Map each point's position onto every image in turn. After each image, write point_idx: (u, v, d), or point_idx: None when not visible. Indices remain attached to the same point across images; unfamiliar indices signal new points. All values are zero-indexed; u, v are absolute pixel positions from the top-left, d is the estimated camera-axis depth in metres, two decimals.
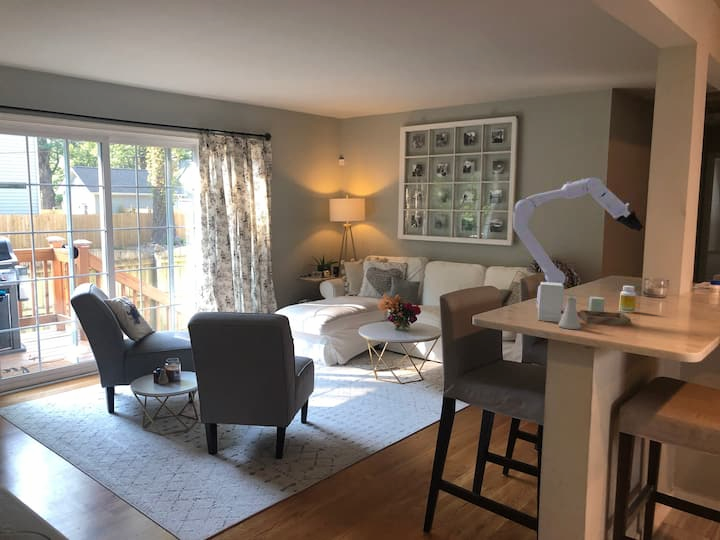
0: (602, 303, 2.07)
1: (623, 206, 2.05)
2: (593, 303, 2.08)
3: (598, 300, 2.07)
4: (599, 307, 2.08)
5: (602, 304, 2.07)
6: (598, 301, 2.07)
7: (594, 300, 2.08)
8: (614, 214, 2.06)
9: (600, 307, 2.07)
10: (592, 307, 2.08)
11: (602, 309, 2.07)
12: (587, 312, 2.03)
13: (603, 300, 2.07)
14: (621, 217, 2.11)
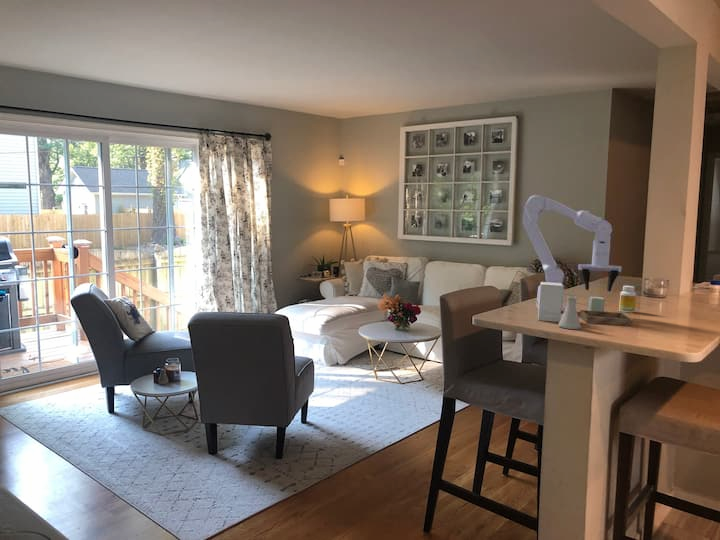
0: (602, 303, 2.07)
1: (594, 264, 2.06)
2: (593, 303, 2.08)
3: (598, 300, 2.07)
4: (599, 307, 2.08)
5: (602, 304, 2.07)
6: (598, 301, 2.07)
7: (594, 300, 2.08)
8: None
9: (600, 307, 2.07)
10: (592, 307, 2.08)
11: (602, 309, 2.07)
12: (587, 312, 2.03)
13: (603, 300, 2.07)
14: (609, 273, 2.08)
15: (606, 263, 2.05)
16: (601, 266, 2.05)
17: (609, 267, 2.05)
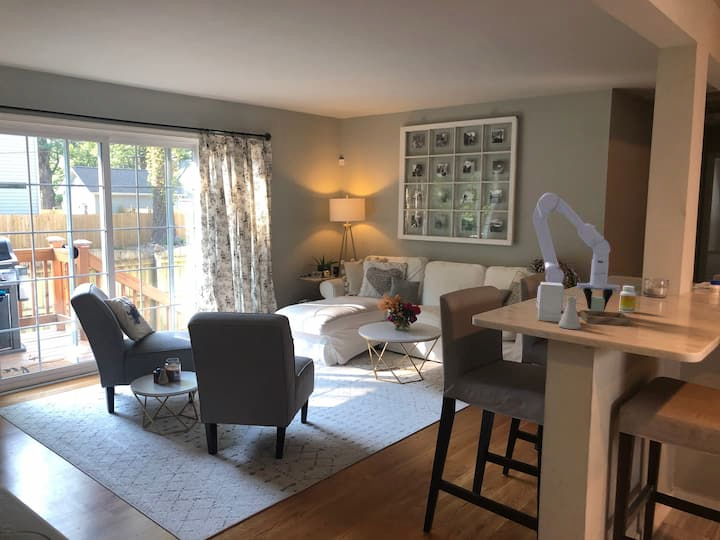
0: (602, 303, 2.07)
1: (593, 283, 2.07)
2: (593, 303, 2.08)
3: (598, 300, 2.07)
4: (599, 307, 2.08)
5: (602, 304, 2.07)
6: (598, 301, 2.07)
7: (594, 300, 2.08)
8: None
9: (600, 307, 2.07)
10: (592, 307, 2.08)
11: (602, 309, 2.07)
12: (587, 312, 2.03)
13: (603, 300, 2.07)
14: (604, 292, 2.09)
15: (604, 282, 2.06)
16: (599, 285, 2.05)
17: (607, 286, 2.06)
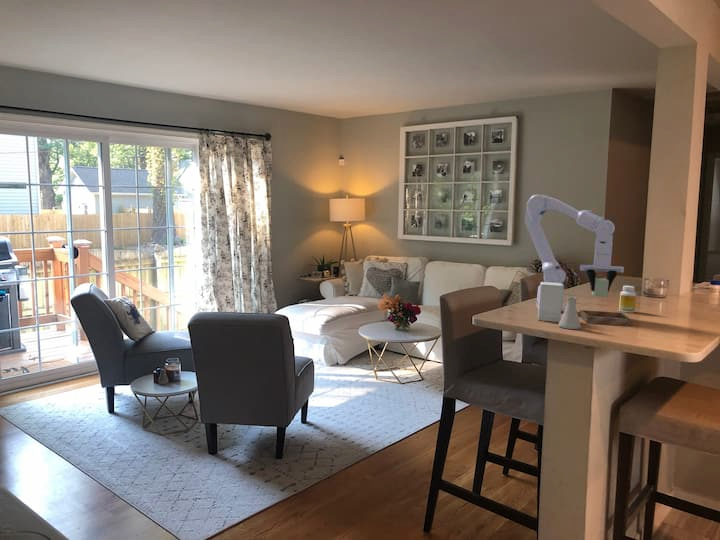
0: (606, 284, 2.03)
1: (596, 264, 2.03)
2: (597, 285, 2.04)
3: (602, 281, 2.03)
4: (602, 289, 2.04)
5: (606, 285, 2.03)
6: (602, 282, 2.04)
7: (598, 281, 2.04)
8: None
9: (604, 289, 2.04)
10: (596, 289, 2.04)
11: (606, 291, 2.04)
12: (587, 312, 2.03)
13: (607, 281, 2.03)
14: (607, 274, 2.06)
15: (608, 263, 2.02)
16: (603, 267, 2.02)
17: (611, 268, 2.02)
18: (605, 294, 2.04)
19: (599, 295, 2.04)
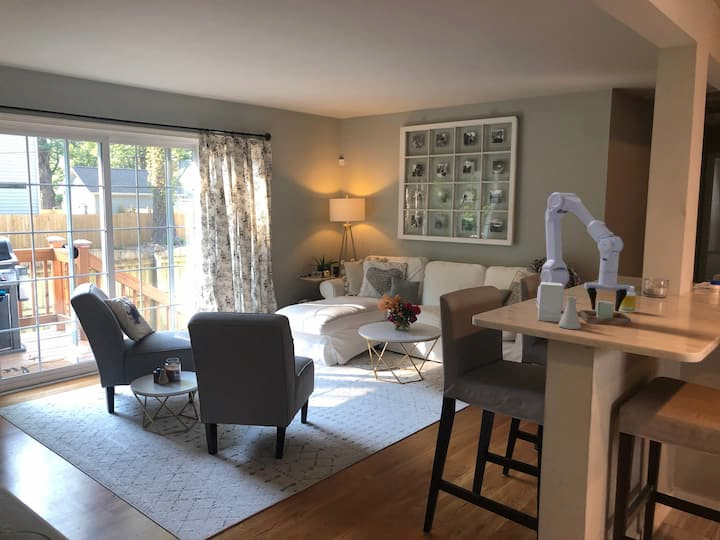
0: (611, 308, 1.94)
1: (601, 282, 1.94)
2: (601, 308, 1.95)
3: (607, 305, 1.95)
4: (607, 312, 1.95)
5: (611, 309, 1.94)
6: (607, 306, 1.95)
7: (602, 305, 1.95)
8: None
9: (609, 312, 1.95)
10: (600, 312, 1.95)
11: (611, 314, 1.95)
12: (587, 312, 2.03)
13: (612, 305, 1.94)
14: (617, 293, 1.96)
15: (614, 282, 1.93)
16: (609, 285, 1.92)
17: (617, 286, 1.93)
18: None
19: None
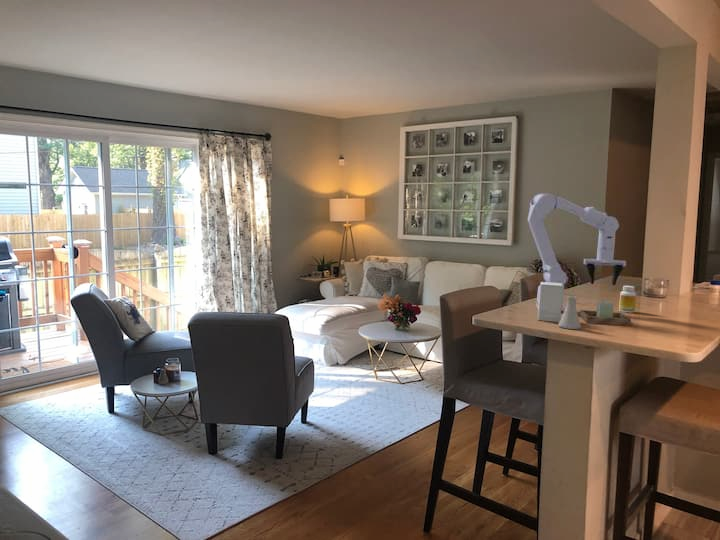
0: (611, 308, 1.94)
1: (599, 258, 2.11)
2: (601, 308, 1.95)
3: (607, 305, 1.95)
4: (607, 312, 1.95)
5: (611, 309, 1.94)
6: (607, 306, 1.95)
7: (602, 305, 1.95)
8: None
9: (609, 312, 1.95)
10: (600, 312, 1.95)
11: (611, 314, 1.95)
12: (587, 312, 2.03)
13: (612, 305, 1.94)
14: (614, 268, 2.13)
15: (611, 258, 2.10)
16: (606, 260, 2.09)
17: (614, 261, 2.10)
18: None
19: None
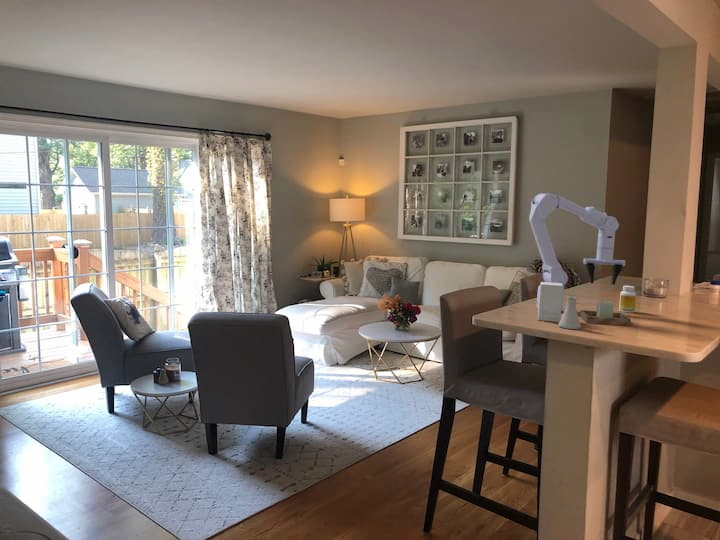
0: (611, 308, 1.94)
1: (599, 258, 2.12)
2: (601, 308, 1.95)
3: (607, 305, 1.95)
4: (607, 312, 1.95)
5: (611, 309, 1.94)
6: (607, 306, 1.95)
7: (602, 305, 1.95)
8: None
9: (609, 312, 1.95)
10: (600, 312, 1.95)
11: (611, 314, 1.95)
12: (587, 312, 2.03)
13: (612, 305, 1.94)
14: (613, 267, 2.14)
15: (610, 257, 2.11)
16: (606, 260, 2.11)
17: (613, 261, 2.11)
18: None
19: None
